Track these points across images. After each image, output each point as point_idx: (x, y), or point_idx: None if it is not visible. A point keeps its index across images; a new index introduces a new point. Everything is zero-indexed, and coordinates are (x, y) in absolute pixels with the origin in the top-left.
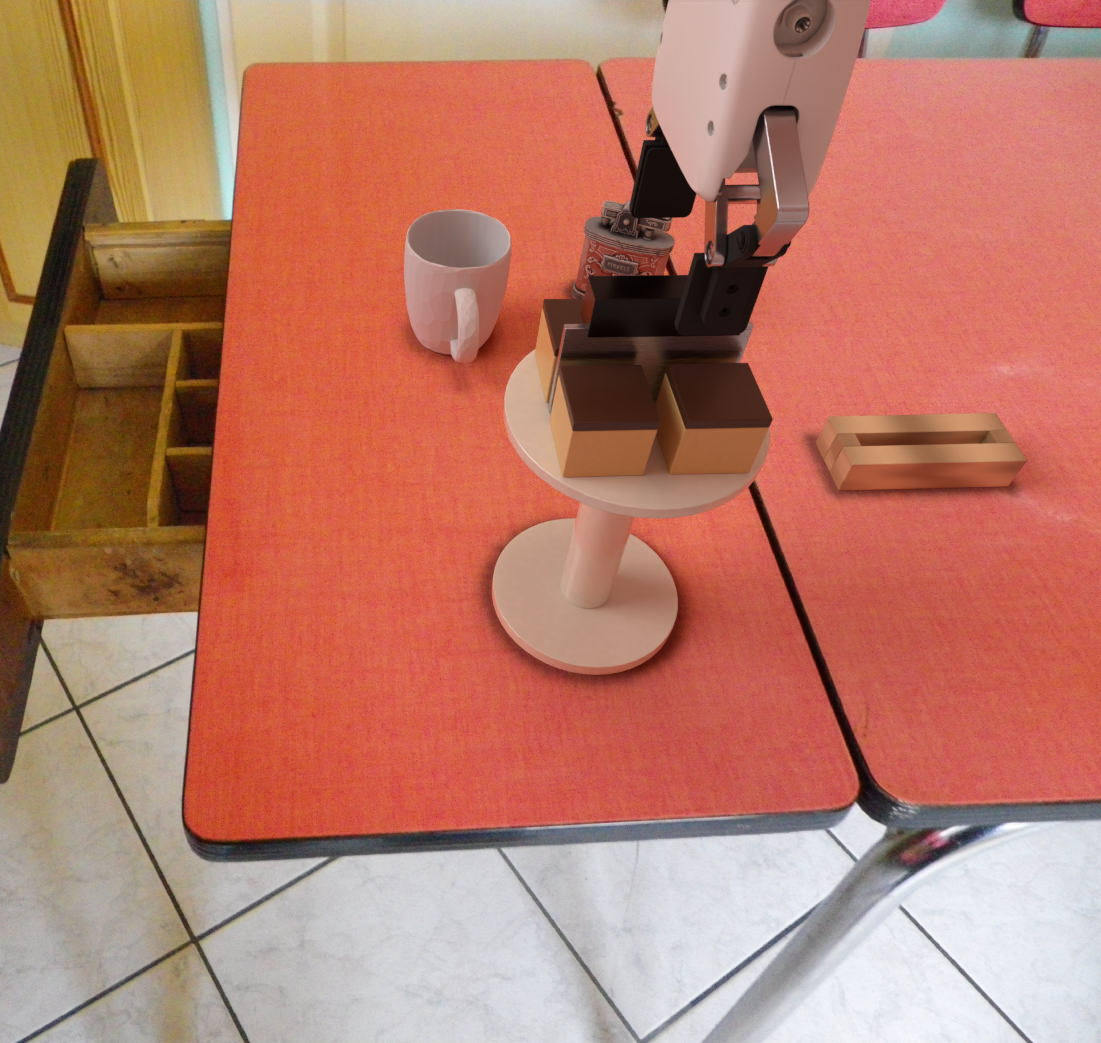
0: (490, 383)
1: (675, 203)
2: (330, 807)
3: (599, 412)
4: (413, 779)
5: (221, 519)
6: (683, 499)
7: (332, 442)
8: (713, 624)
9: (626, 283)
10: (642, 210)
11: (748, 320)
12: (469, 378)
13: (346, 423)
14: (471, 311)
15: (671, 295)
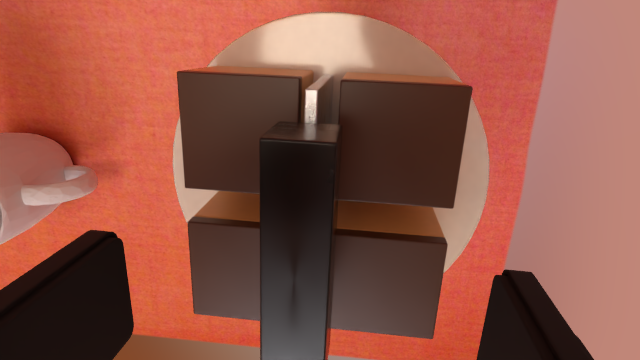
0: (106, 143)
1: (106, 284)
2: (482, 305)
3: (418, 308)
4: (474, 258)
5: (257, 345)
6: (476, 171)
7: (183, 273)
8: (384, 11)
9: (284, 343)
10: (123, 330)
11: (538, 284)
12: (101, 160)
13: (162, 261)
14: (53, 192)
15: (320, 285)
